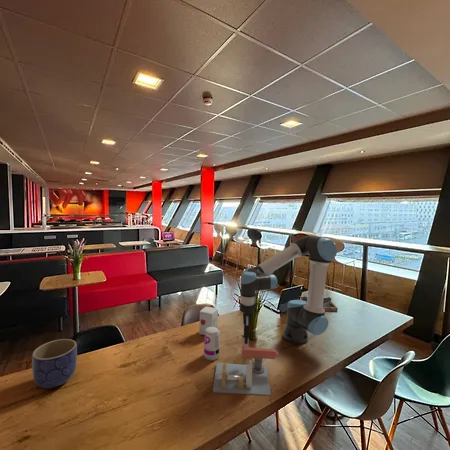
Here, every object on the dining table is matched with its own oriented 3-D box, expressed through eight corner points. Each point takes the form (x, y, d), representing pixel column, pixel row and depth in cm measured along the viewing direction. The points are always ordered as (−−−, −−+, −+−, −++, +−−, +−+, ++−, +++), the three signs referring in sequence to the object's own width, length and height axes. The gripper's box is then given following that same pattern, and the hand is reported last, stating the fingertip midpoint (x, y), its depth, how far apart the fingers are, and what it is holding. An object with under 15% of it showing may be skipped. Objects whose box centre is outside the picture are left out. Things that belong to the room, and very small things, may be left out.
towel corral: (327, 301, 218) (327, 297, 218) (337, 311, 196) (337, 308, 196) (298, 299, 219) (299, 296, 219) (305, 310, 197) (305, 306, 197)
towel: (331, 305, 206) (332, 296, 205) (317, 309, 196) (317, 299, 196) (316, 299, 219) (317, 291, 218) (302, 303, 209) (302, 293, 209)
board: (266, 368, 124) (266, 354, 124) (271, 397, 105) (271, 381, 104) (216, 364, 126) (217, 351, 125) (212, 393, 106) (213, 377, 106)
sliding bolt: (251, 383, 111) (251, 360, 110) (251, 388, 108) (252, 364, 107) (214, 380, 112) (215, 357, 111) (214, 385, 109) (214, 362, 108)
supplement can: (207, 362, 127) (208, 334, 126) (201, 354, 134) (202, 327, 133) (221, 358, 131) (222, 331, 130) (215, 350, 138) (215, 324, 137)
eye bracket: (242, 381, 113) (243, 364, 112) (242, 390, 107) (243, 373, 106) (222, 379, 113) (222, 363, 113) (221, 389, 107) (221, 372, 107)
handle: (277, 356, 122) (277, 347, 122) (278, 361, 118) (279, 353, 118) (241, 353, 123) (242, 345, 123) (242, 359, 119) (242, 351, 119)
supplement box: (198, 334, 155) (199, 311, 154) (205, 327, 164) (205, 305, 162) (211, 337, 152) (212, 313, 151) (217, 330, 160) (218, 308, 159)
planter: (43, 399, 100) (42, 364, 99) (26, 383, 109) (25, 350, 108) (84, 376, 114) (84, 345, 113) (66, 363, 123) (65, 334, 122)
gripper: (240, 298, 130) (238, 341, 132) (239, 308, 117) (238, 355, 119) (254, 298, 130) (252, 342, 131) (255, 308, 117) (253, 356, 118)
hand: (245, 348), depth 125 cm, fingers closed
